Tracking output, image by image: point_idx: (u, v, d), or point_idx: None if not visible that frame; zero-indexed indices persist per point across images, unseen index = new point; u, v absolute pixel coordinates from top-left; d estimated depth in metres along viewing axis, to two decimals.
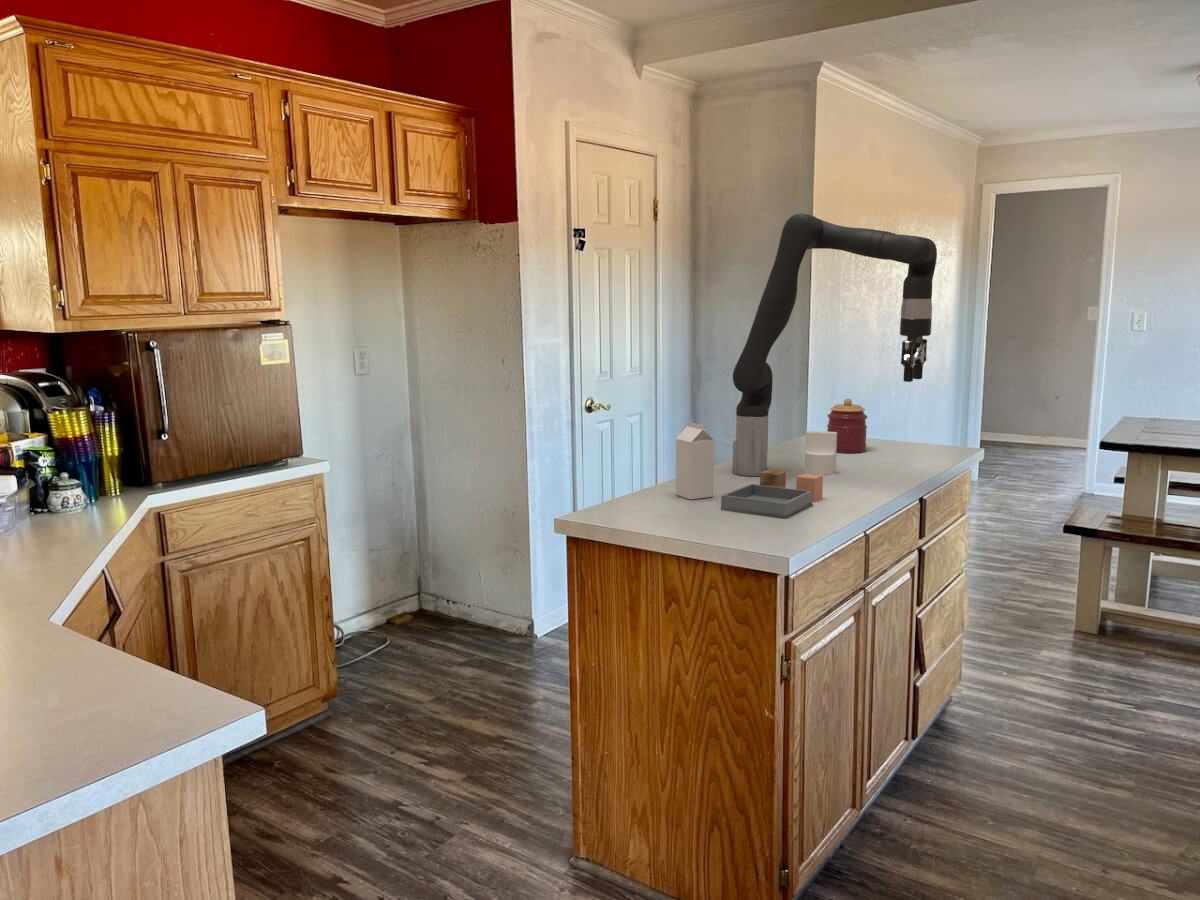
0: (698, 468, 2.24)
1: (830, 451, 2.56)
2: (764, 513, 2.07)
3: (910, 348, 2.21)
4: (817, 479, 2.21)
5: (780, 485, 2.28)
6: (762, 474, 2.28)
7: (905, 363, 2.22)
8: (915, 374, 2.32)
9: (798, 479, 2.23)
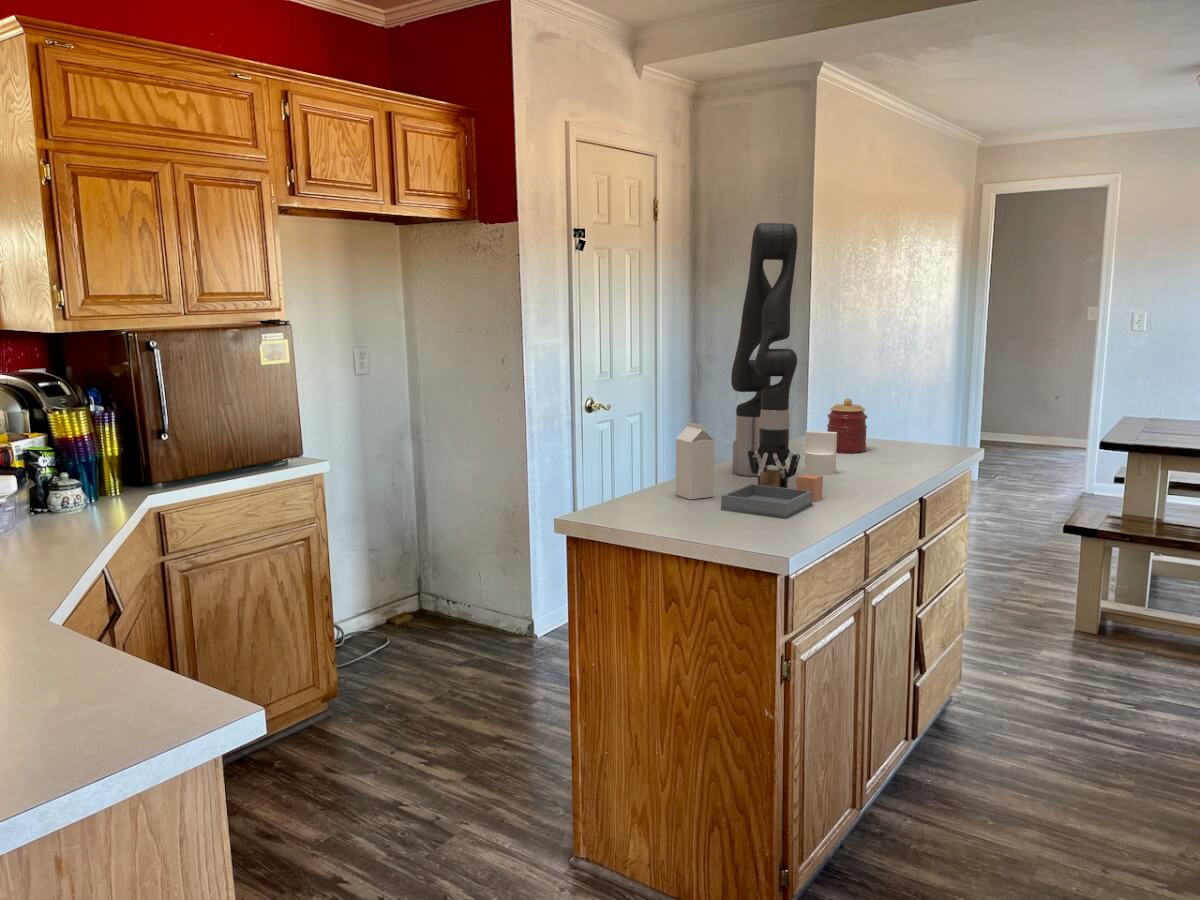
0: (698, 468, 2.24)
1: (830, 451, 2.56)
2: (764, 513, 2.07)
3: (798, 461, 2.26)
4: (817, 479, 2.21)
5: None
6: (762, 474, 2.28)
7: (792, 475, 2.26)
8: None
9: (798, 479, 2.23)
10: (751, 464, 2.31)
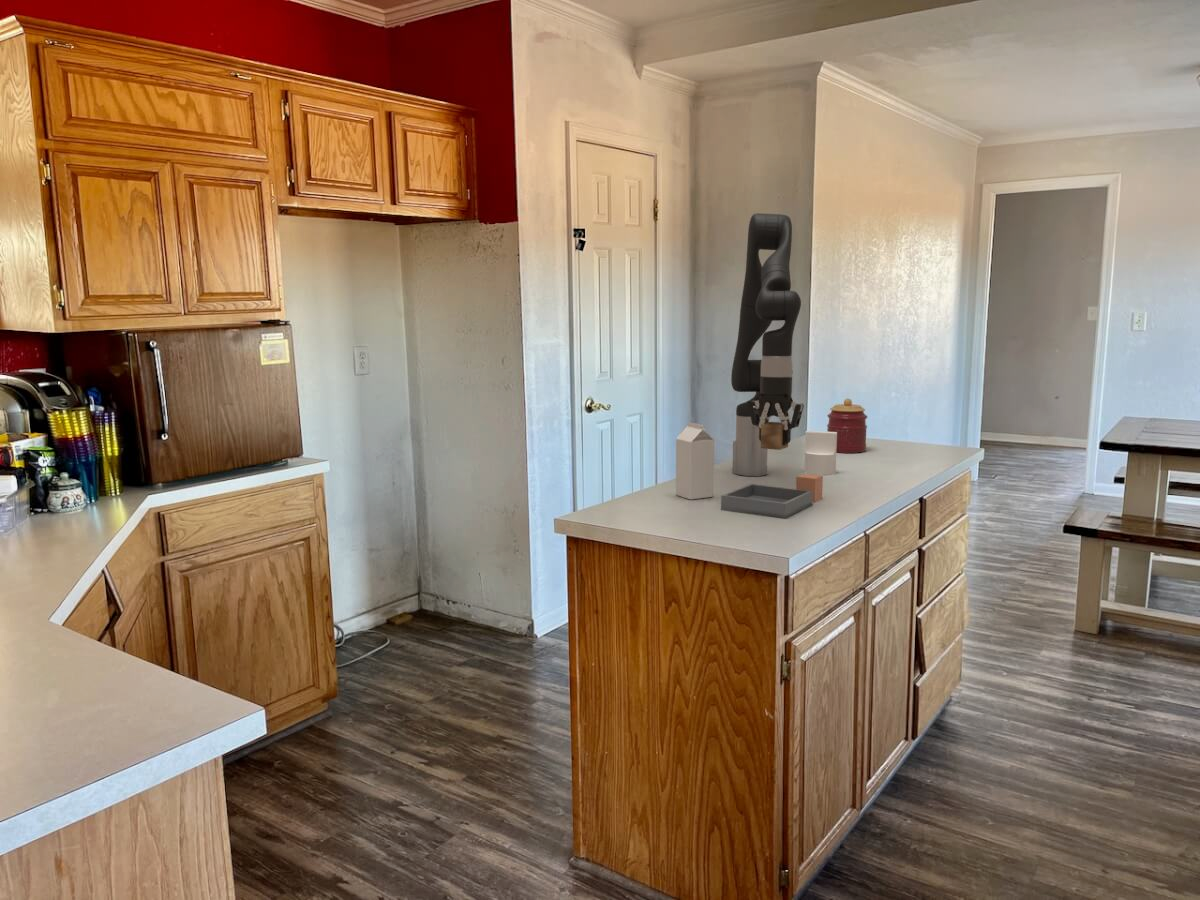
0: (698, 468, 2.24)
1: (830, 451, 2.56)
2: (764, 513, 2.07)
3: (801, 411, 2.12)
4: (817, 479, 2.21)
5: (782, 437, 2.14)
6: (763, 425, 2.14)
7: (795, 426, 2.12)
8: None
9: (798, 479, 2.23)
10: (752, 415, 2.17)
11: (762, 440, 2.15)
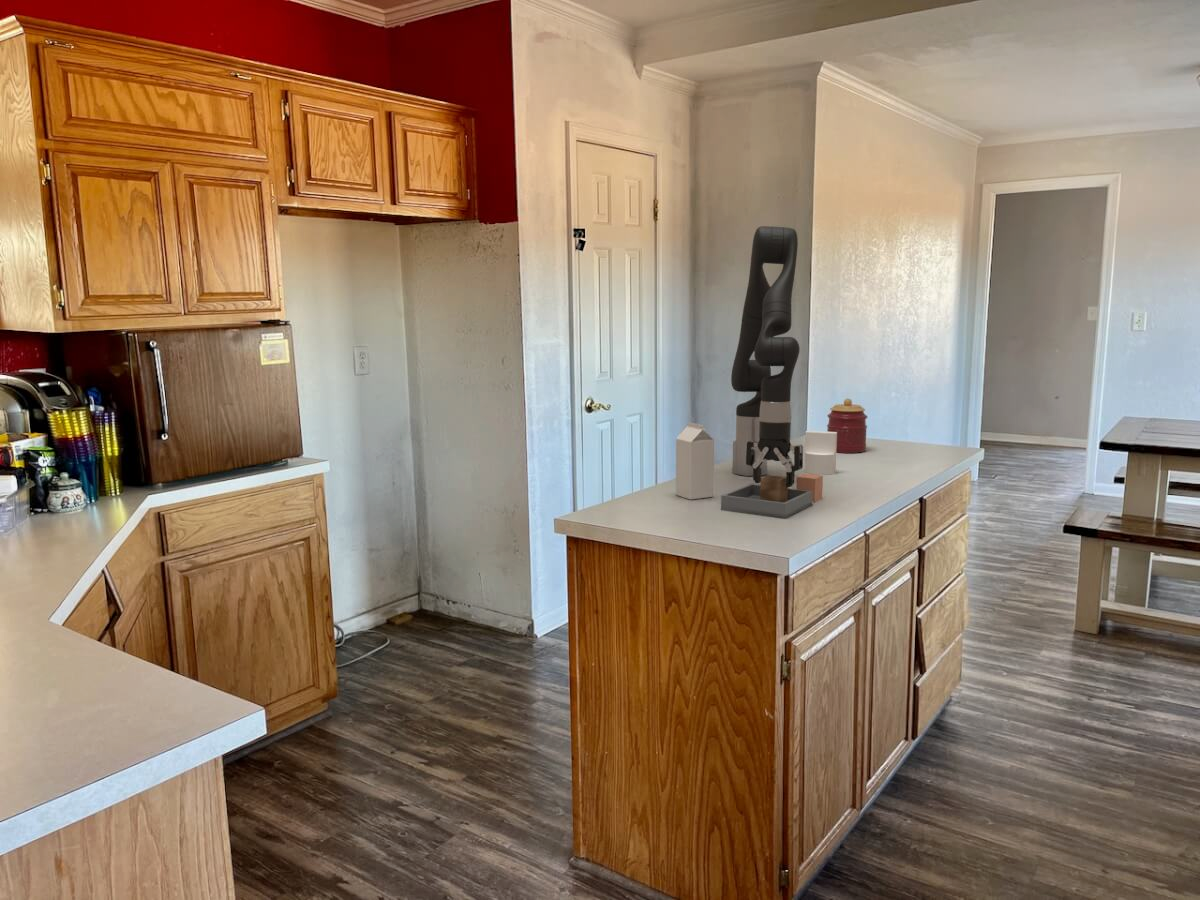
0: (698, 468, 2.24)
1: (830, 451, 2.56)
2: (764, 513, 2.07)
3: (802, 452, 2.13)
4: (817, 479, 2.21)
5: (782, 491, 2.16)
6: (763, 480, 2.16)
7: (799, 468, 2.13)
8: (758, 478, 2.19)
9: (798, 479, 2.23)
10: (747, 455, 2.19)
11: (762, 494, 2.17)
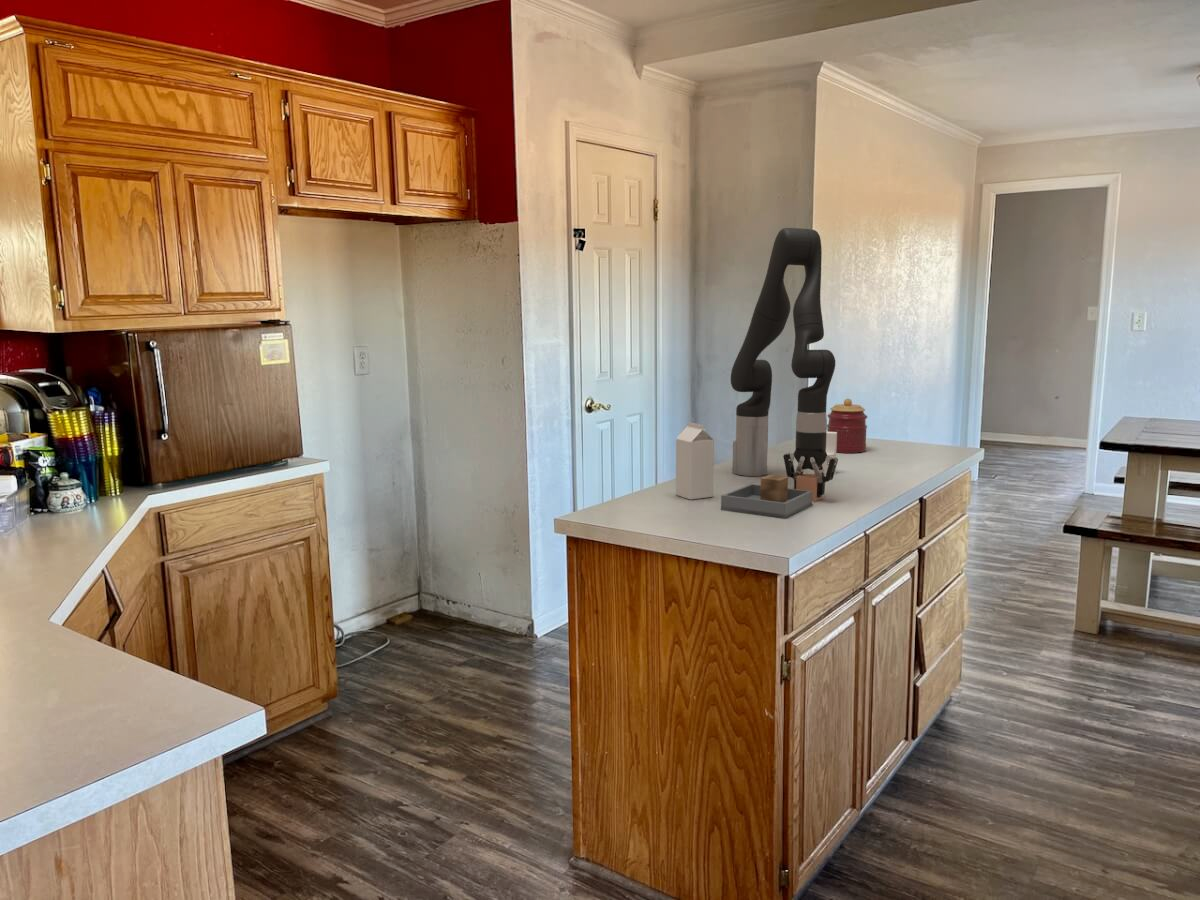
0: (698, 468, 2.24)
1: (830, 451, 2.56)
2: (764, 513, 2.07)
3: None
4: None
5: (782, 491, 2.16)
6: (763, 480, 2.16)
7: (830, 479, 2.21)
8: None
9: (798, 479, 2.23)
10: (787, 468, 2.26)
11: (762, 494, 2.17)
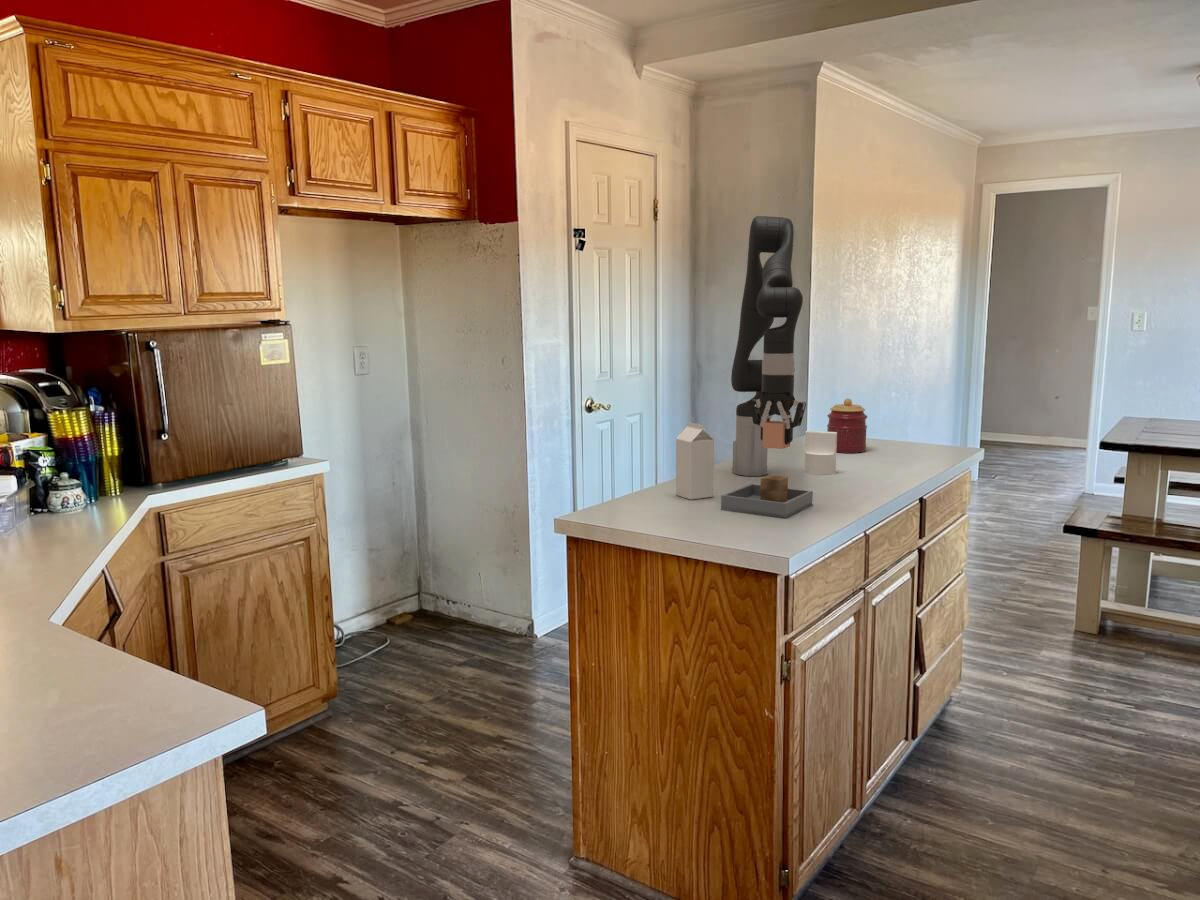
0: (698, 468, 2.24)
1: (830, 451, 2.56)
2: (764, 513, 2.07)
3: (804, 410, 2.08)
4: (784, 425, 2.09)
5: (782, 491, 2.16)
6: (763, 480, 2.16)
7: (798, 425, 2.09)
8: None
9: (765, 425, 2.11)
10: (753, 414, 2.13)
11: (762, 494, 2.17)
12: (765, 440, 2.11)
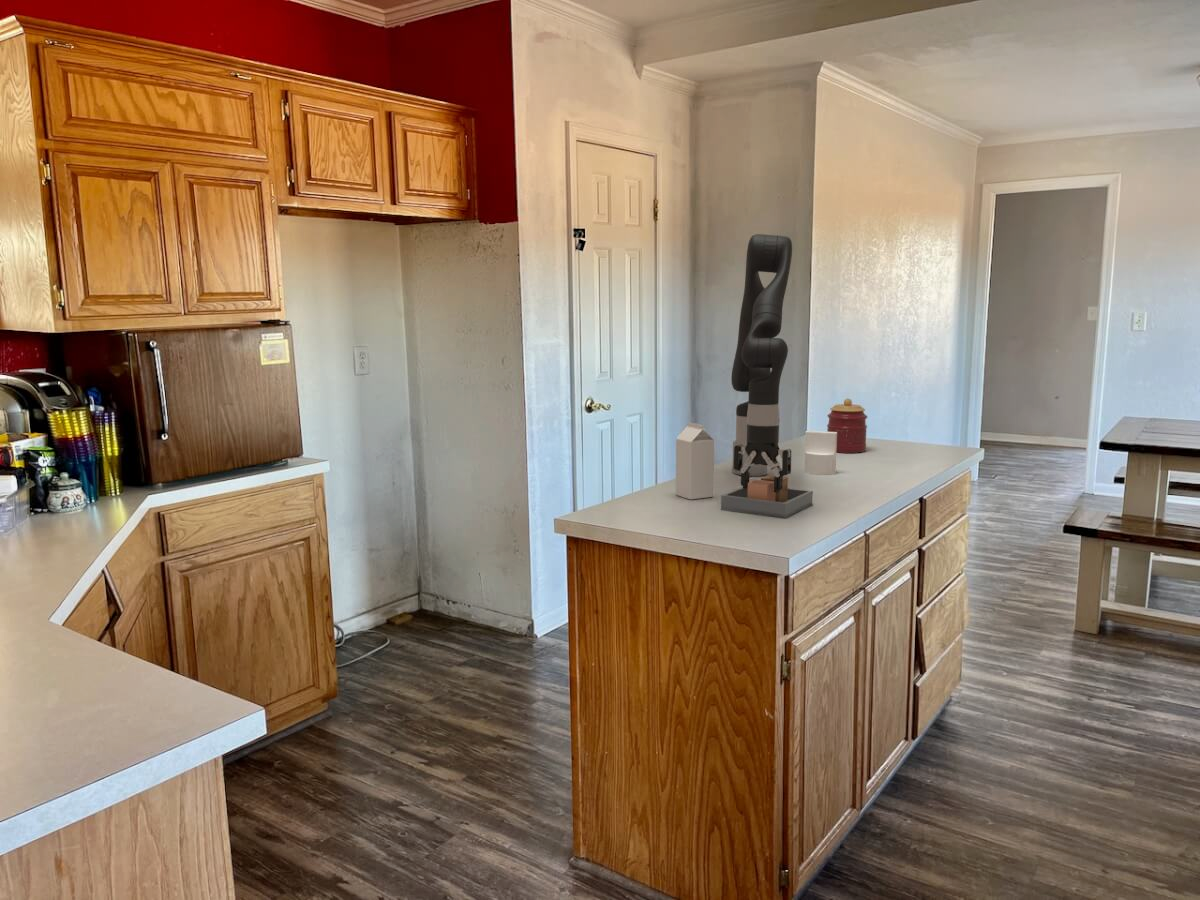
0: (698, 468, 2.24)
1: (830, 451, 2.56)
2: (764, 513, 2.07)
3: (790, 457, 2.08)
4: (769, 486, 2.10)
5: (782, 491, 2.16)
6: None
7: (787, 473, 2.07)
8: (746, 483, 2.14)
9: (749, 485, 2.11)
10: (735, 460, 2.14)
11: None
12: None
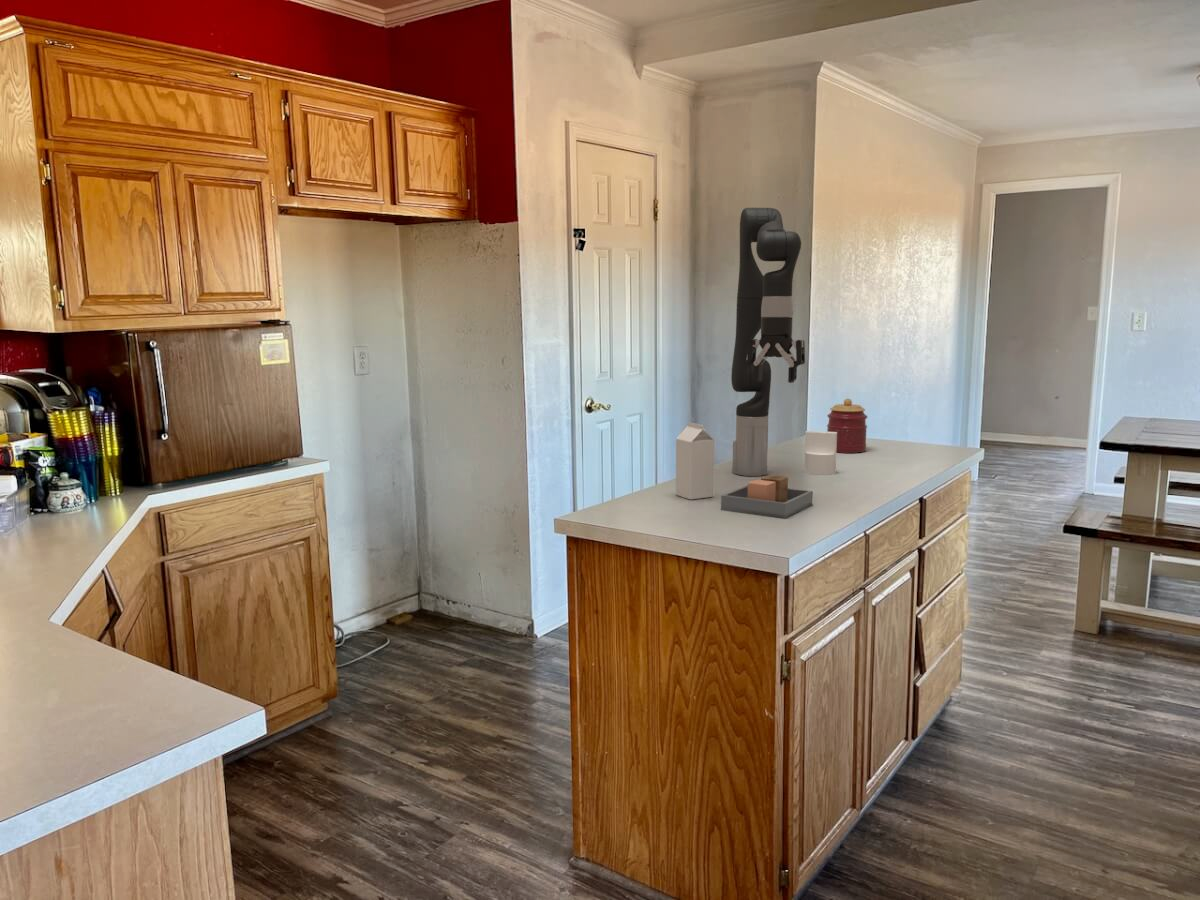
0: (698, 468, 2.24)
1: (830, 451, 2.56)
2: (764, 513, 2.07)
3: (804, 347, 2.14)
4: (769, 486, 2.10)
5: (782, 491, 2.16)
6: None
7: (802, 363, 2.13)
8: (759, 376, 2.20)
9: (749, 485, 2.11)
10: (749, 353, 2.20)
11: None
12: None
